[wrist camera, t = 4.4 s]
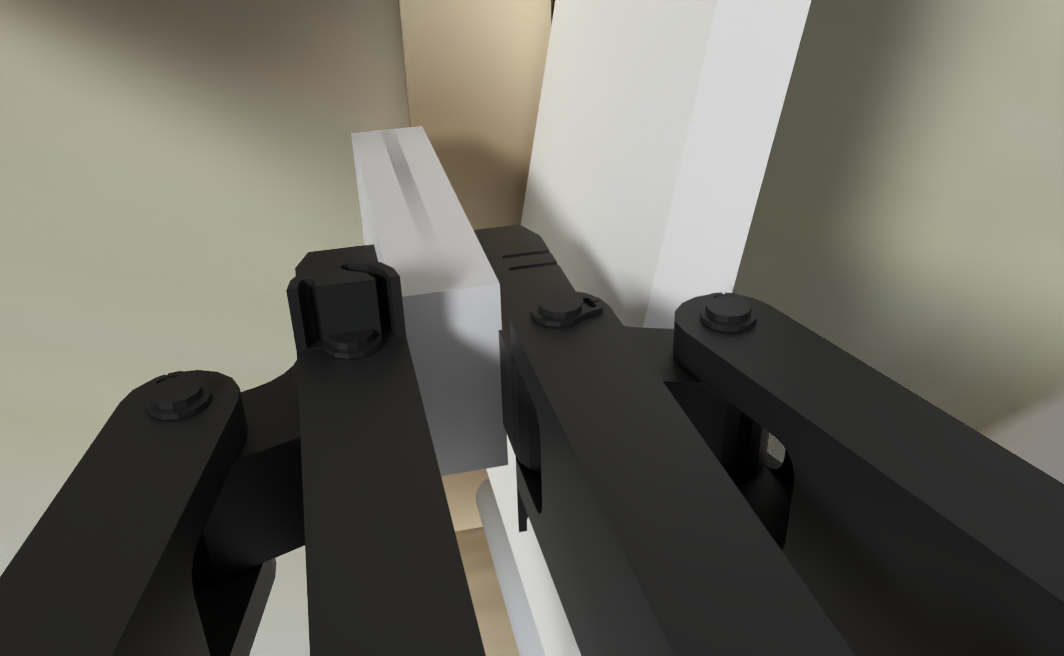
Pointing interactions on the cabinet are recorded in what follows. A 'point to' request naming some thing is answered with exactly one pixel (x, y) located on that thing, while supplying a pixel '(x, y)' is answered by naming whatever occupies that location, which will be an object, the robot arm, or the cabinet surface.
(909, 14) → the cabinet surface
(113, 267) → the cabinet surface
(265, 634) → the cabinet surface
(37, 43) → the cabinet surface
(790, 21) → the door
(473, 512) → the door frame
